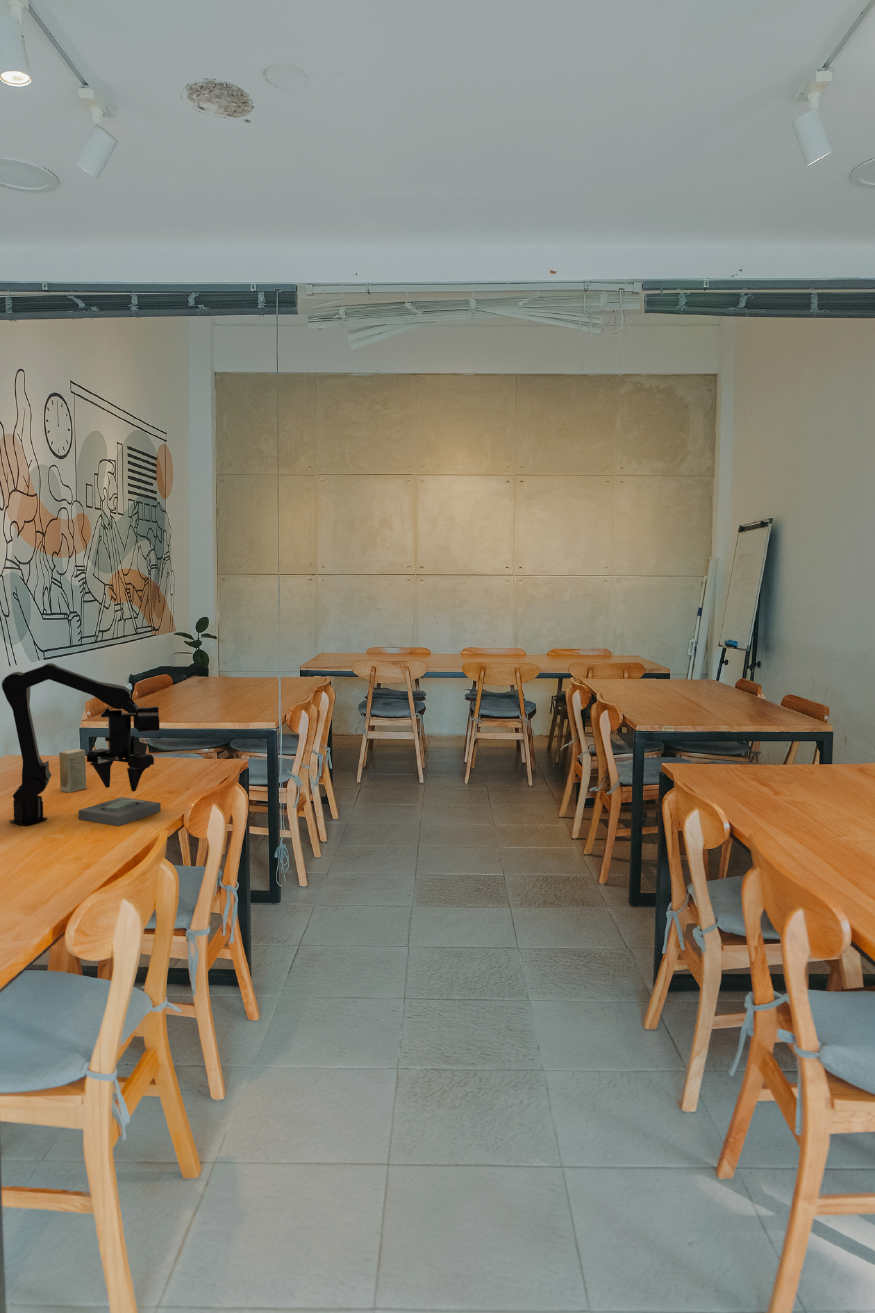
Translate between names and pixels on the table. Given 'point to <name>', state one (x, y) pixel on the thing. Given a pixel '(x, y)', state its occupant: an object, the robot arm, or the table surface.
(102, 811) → the socket board
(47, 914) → the table surface
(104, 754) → the robot arm
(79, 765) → the skincare box
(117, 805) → the key block
